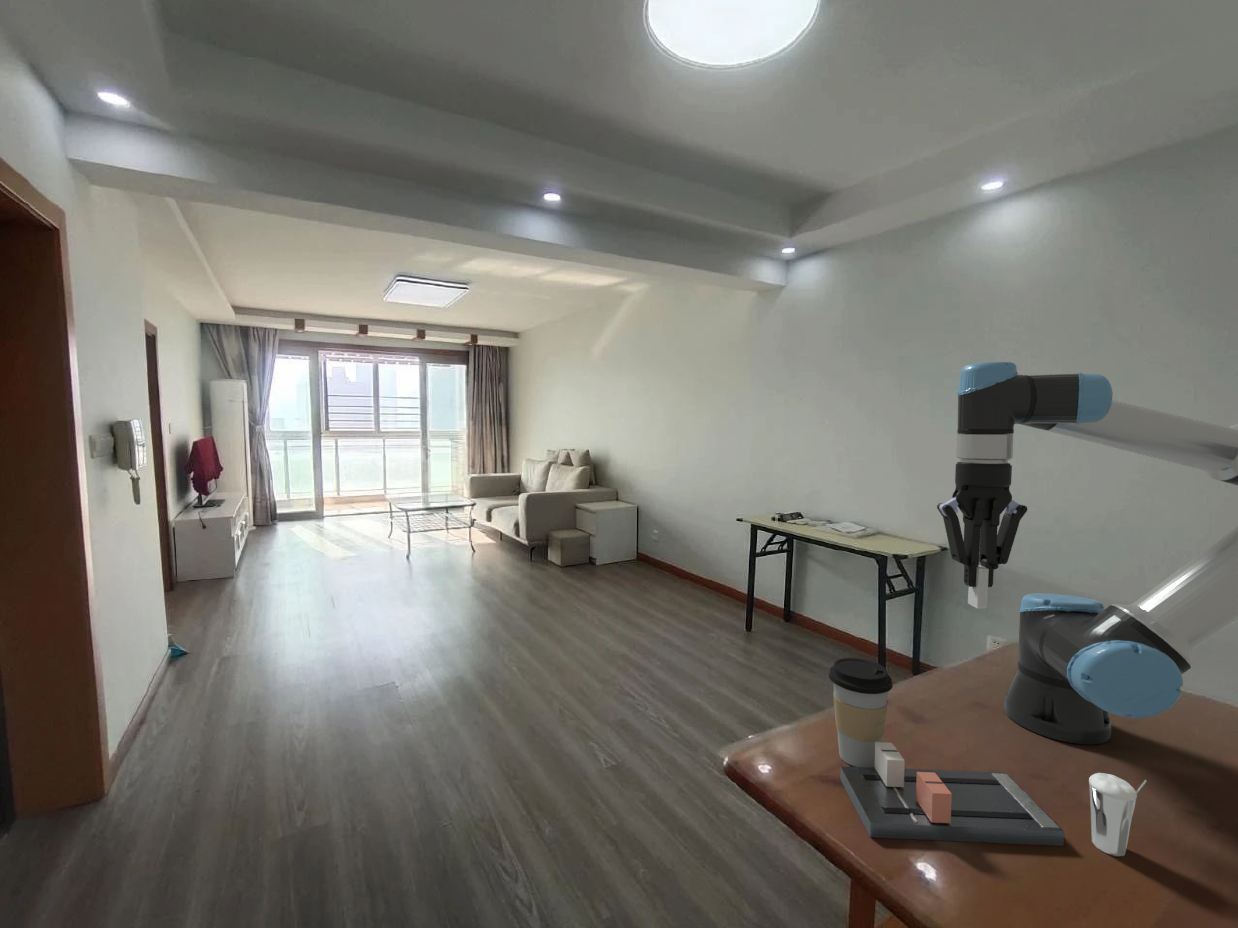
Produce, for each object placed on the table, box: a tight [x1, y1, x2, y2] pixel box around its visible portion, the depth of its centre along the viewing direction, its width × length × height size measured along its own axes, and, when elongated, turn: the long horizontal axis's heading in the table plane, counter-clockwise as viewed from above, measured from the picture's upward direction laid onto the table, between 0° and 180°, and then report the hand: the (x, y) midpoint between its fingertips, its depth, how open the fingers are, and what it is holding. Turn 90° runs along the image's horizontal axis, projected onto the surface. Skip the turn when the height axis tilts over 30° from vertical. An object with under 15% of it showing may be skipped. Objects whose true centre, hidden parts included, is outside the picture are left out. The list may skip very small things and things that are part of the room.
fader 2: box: [916, 772, 952, 823], centre depth 74 cm, size 2×4×4 cm, turn 176°
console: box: [839, 765, 1065, 847], centre depth 78 cm, size 24×12×2 cm, turn 86°
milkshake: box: [1088, 772, 1147, 857], centre depth 70 cm, size 4×5×10 cm
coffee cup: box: [828, 657, 894, 768], centre depth 89 cm, size 9×9×15 cm
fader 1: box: [874, 741, 906, 787], centre depth 81 cm, size 2×4×4 cm, turn 176°
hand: (977, 605), depth 90 cm, fingers closed
